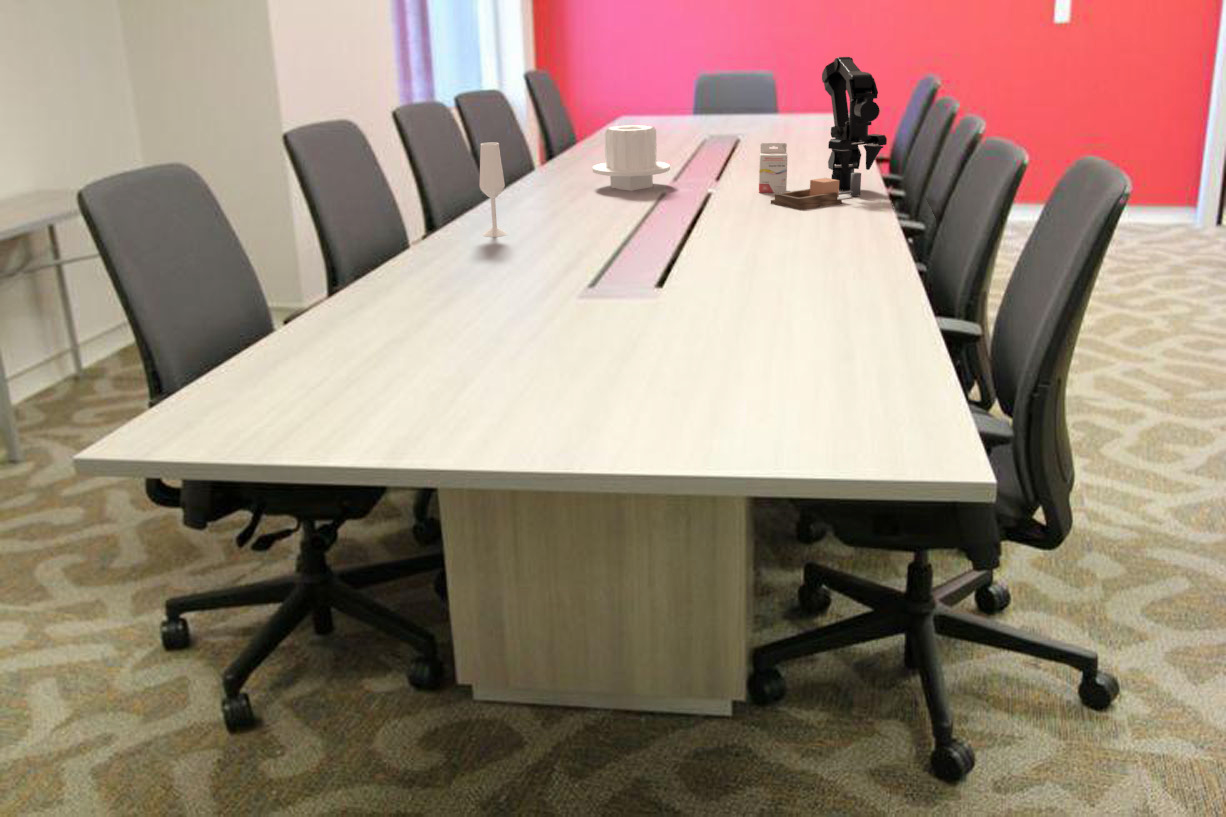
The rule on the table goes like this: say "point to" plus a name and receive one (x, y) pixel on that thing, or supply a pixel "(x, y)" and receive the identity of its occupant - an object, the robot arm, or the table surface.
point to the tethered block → (835, 186)
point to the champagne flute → (491, 180)
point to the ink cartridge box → (773, 168)
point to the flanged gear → (631, 157)
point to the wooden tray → (805, 199)
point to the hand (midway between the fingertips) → (856, 171)
